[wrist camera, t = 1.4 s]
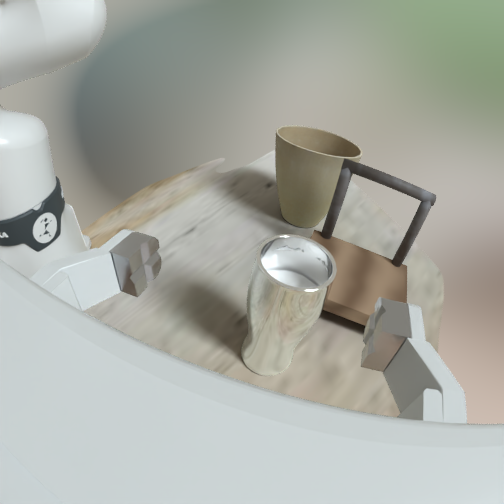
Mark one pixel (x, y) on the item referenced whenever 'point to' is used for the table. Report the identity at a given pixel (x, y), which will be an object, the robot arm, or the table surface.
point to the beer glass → (284, 299)
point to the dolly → (367, 252)
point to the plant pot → (309, 171)
